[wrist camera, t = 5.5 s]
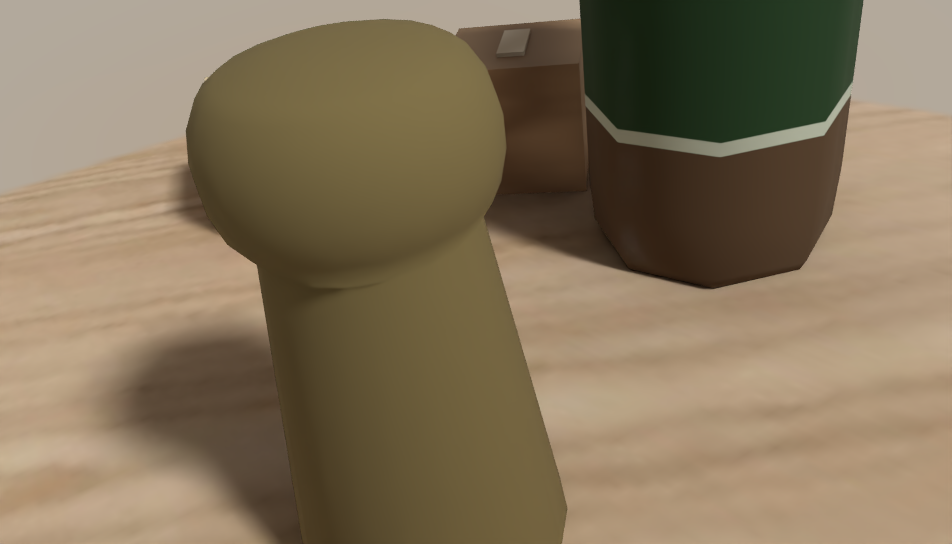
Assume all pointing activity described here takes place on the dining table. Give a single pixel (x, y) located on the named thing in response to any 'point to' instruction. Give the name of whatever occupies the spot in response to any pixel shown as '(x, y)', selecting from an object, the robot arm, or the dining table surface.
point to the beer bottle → (716, 130)
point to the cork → (381, 281)
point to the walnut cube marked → (538, 102)
